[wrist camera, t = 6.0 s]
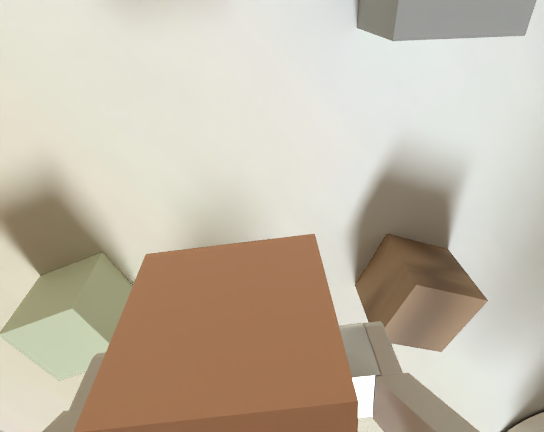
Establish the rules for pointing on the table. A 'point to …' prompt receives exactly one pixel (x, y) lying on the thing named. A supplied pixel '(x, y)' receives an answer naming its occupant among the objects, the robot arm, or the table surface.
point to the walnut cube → (418, 293)
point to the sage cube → (69, 316)
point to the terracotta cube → (226, 346)
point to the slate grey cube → (444, 18)
